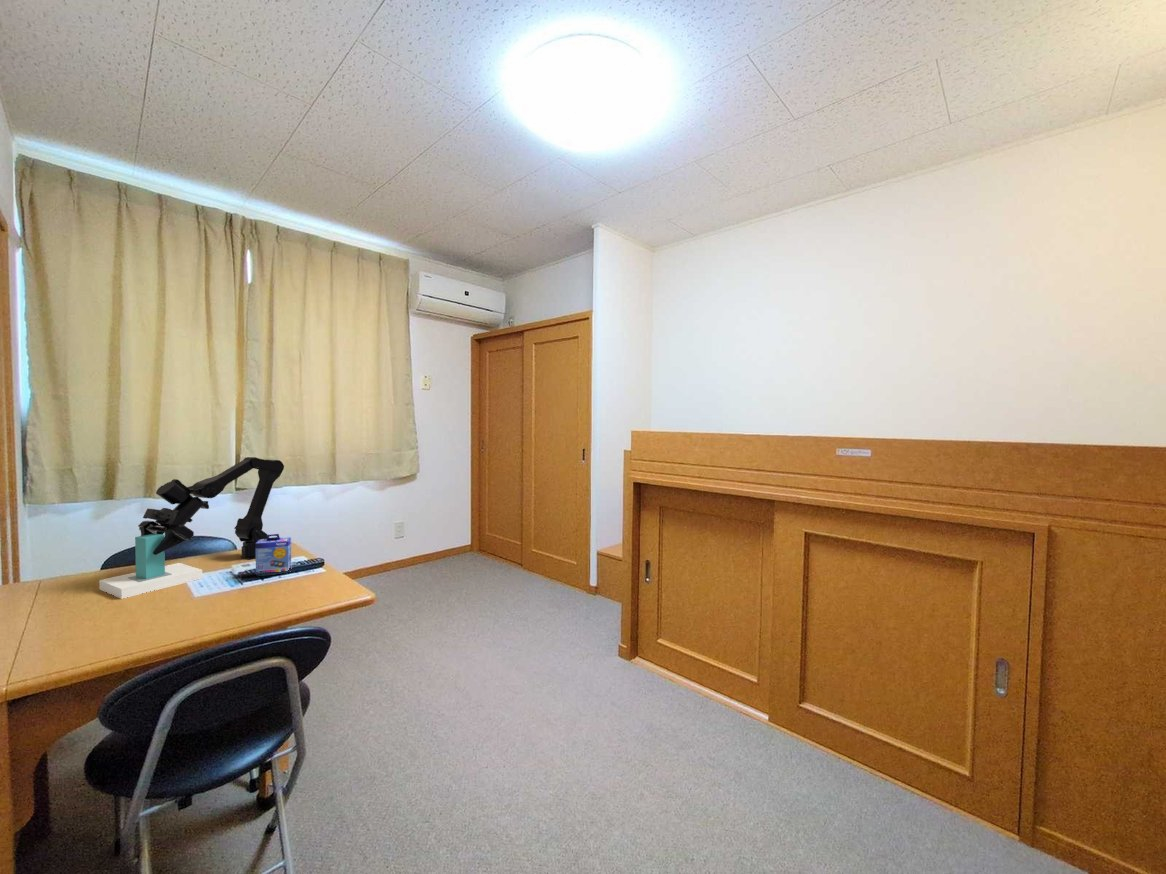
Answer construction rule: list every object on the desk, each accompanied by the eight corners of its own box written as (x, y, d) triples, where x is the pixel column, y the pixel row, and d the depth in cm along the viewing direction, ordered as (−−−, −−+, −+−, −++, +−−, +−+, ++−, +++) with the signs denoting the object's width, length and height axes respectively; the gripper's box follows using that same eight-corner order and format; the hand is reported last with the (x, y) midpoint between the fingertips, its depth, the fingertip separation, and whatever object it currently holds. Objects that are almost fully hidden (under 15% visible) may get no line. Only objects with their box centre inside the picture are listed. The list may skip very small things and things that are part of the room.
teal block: (154, 572, 147) (154, 533, 147) (165, 574, 146) (164, 534, 145) (135, 577, 142) (135, 537, 142) (146, 579, 141) (145, 538, 141)
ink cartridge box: (254, 578, 152) (254, 536, 151) (258, 573, 157) (258, 532, 156) (289, 574, 156) (288, 533, 156) (291, 569, 161) (291, 530, 161)
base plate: (179, 571, 158) (179, 562, 158) (202, 578, 151) (202, 569, 151) (99, 589, 140) (99, 579, 140) (121, 598, 133) (121, 588, 133)
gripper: (144, 496, 150) (102, 537, 140) (182, 500, 144) (141, 542, 134) (172, 515, 158) (134, 554, 148) (209, 519, 152) (172, 560, 142)
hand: (144, 552), depth 143 cm, fingers open, 9 cm apart
